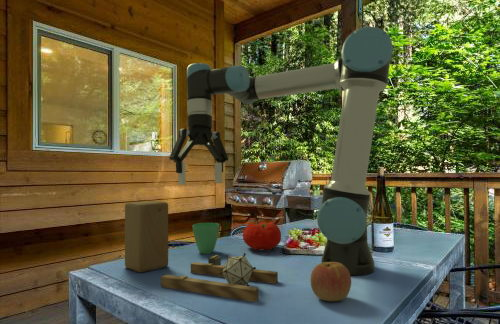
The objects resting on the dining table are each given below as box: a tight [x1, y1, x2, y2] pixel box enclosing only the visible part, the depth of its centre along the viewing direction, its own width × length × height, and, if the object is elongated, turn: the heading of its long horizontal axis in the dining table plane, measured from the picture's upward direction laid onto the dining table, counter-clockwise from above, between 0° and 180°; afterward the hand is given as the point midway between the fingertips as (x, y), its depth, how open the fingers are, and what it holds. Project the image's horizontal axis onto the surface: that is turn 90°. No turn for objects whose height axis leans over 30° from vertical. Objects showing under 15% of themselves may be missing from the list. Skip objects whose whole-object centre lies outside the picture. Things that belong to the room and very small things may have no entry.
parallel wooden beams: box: [160, 254, 279, 303], centre depth 85 cm, size 26×18×4 cm
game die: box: [219, 252, 257, 286], centre depth 82 cm, size 9×8×10 cm
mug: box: [192, 222, 220, 255], centre depth 121 cm, size 15×10×10 cm
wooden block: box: [124, 200, 169, 274], centre depth 101 cm, size 10×10×20 cm
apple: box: [310, 262, 352, 302], centre depth 73 cm, size 9×9×8 cm
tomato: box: [242, 221, 282, 252], centre depth 124 cm, size 14×16×10 cm
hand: (201, 183), depth 100 cm, fingers open, 13 cm apart
